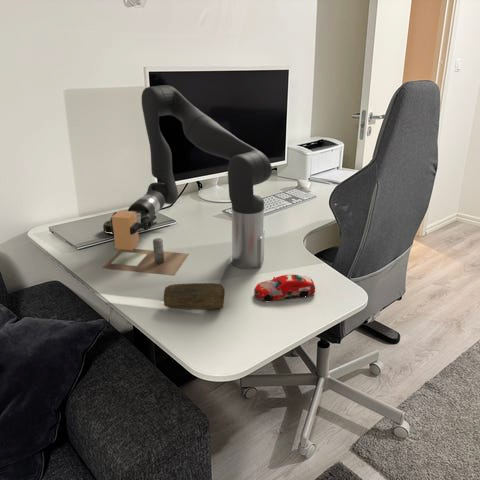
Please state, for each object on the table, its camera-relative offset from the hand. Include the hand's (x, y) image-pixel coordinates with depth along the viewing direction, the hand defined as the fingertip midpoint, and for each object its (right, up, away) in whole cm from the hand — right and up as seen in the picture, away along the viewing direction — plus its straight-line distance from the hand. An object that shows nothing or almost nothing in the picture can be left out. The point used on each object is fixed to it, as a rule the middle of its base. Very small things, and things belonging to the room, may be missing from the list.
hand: (121, 230), depth 131 cm
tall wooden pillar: (0, -4, +5) cm, 7 cm away
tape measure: (-9, 0, +29) cm, 31 cm away
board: (+6, -10, +6) cm, 13 cm away
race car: (+46, -17, -9) cm, 49 cm away
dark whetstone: (+22, -20, -15) cm, 33 cm away
